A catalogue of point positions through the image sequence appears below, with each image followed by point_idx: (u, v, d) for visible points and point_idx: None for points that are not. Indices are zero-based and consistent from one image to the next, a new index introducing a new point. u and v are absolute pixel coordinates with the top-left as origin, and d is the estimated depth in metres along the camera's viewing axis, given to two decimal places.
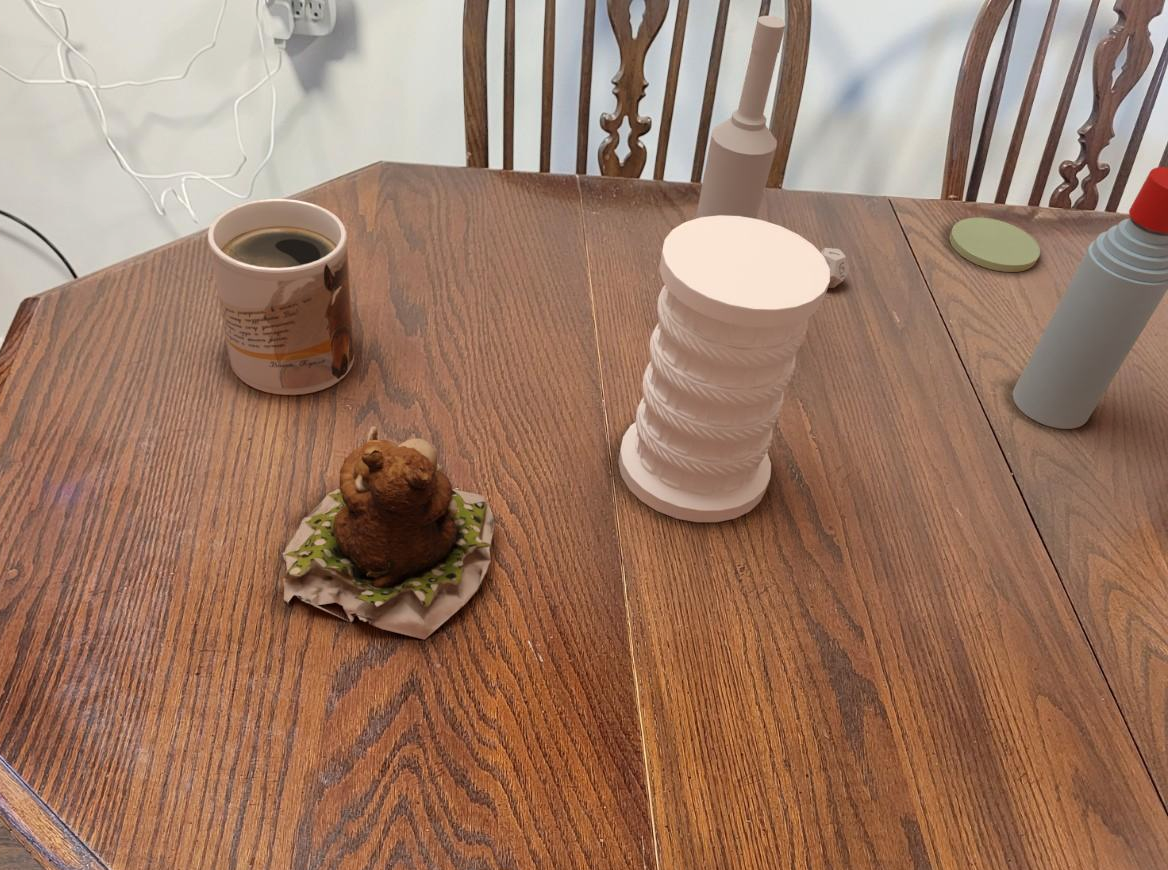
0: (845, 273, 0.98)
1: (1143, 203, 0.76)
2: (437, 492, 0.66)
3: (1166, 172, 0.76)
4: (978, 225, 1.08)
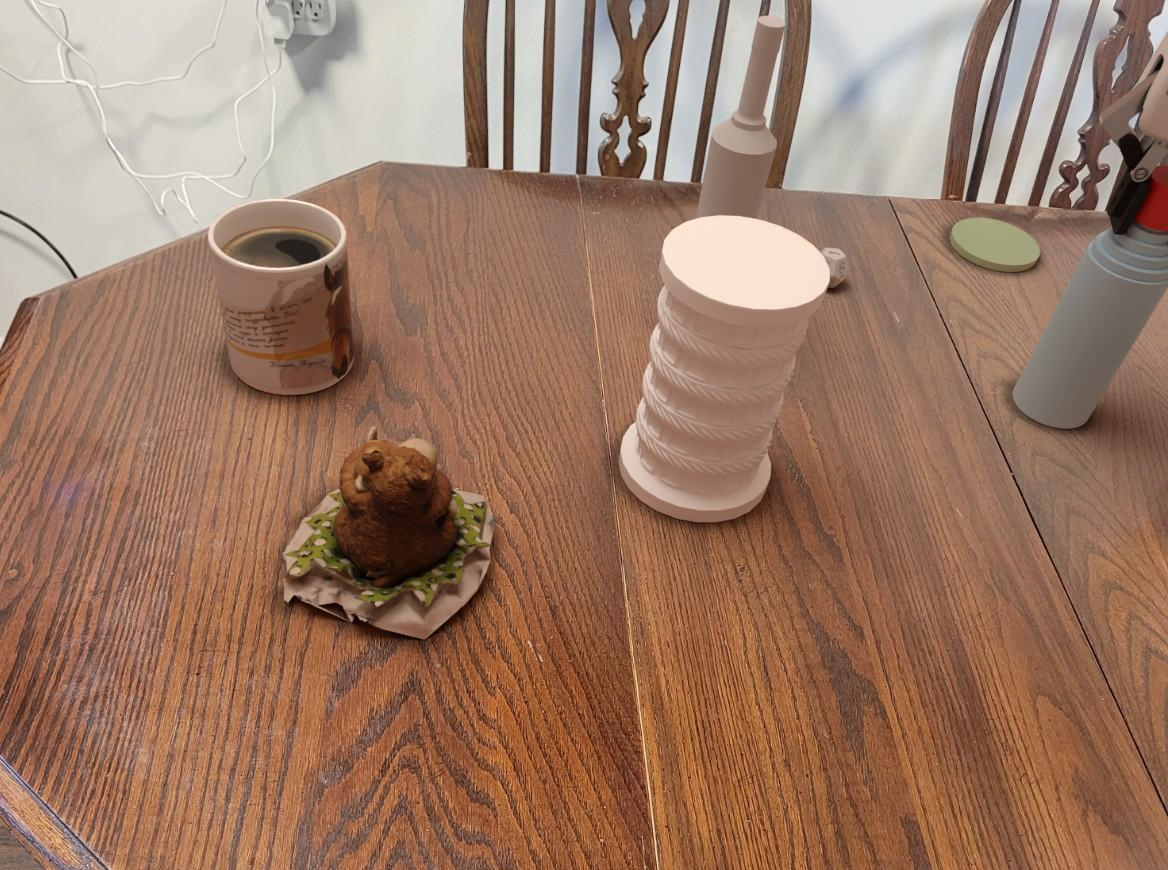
0: (845, 273, 0.98)
1: None
2: (437, 492, 0.66)
3: (1166, 180, 0.75)
4: (978, 225, 1.08)
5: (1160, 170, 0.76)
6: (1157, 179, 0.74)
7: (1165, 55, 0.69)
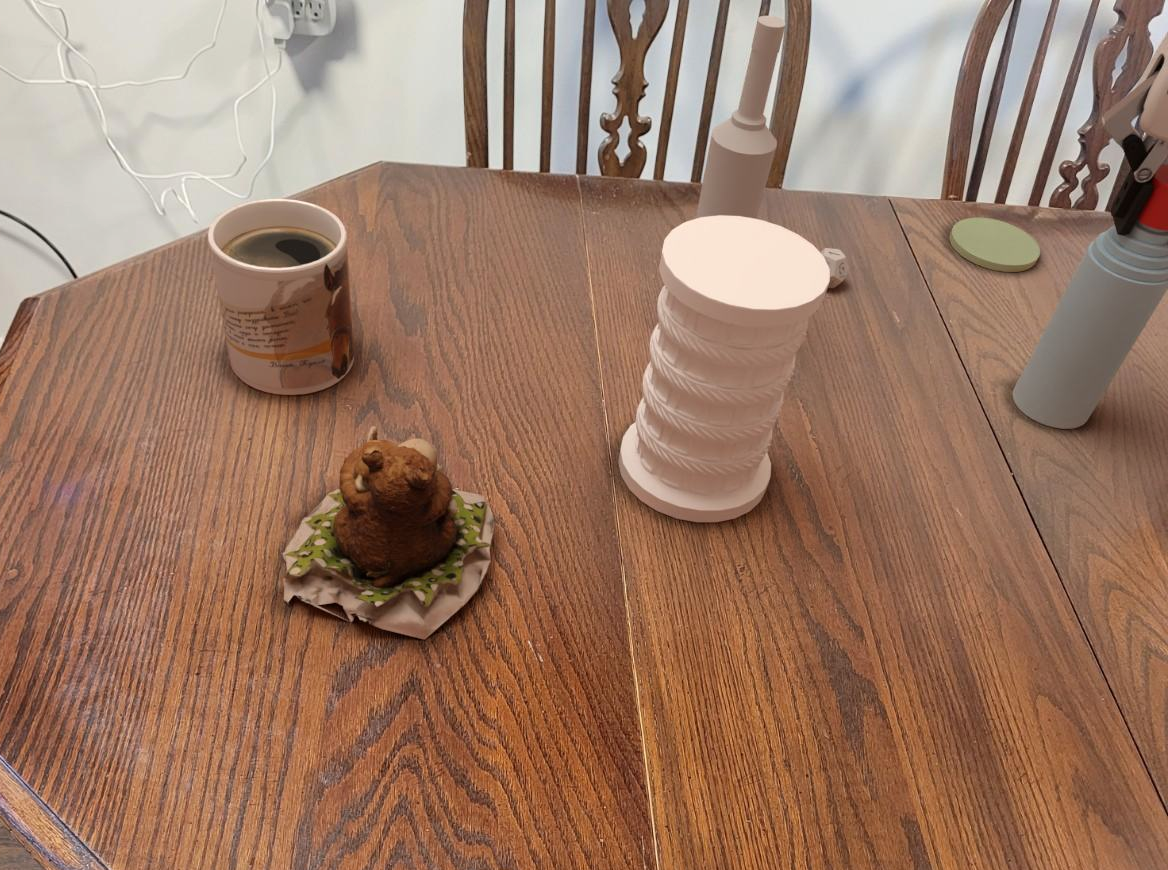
0: (845, 273, 0.98)
1: None
2: (437, 492, 0.66)
3: None
4: (978, 225, 1.08)
5: None
6: None
7: (1166, 54, 0.69)
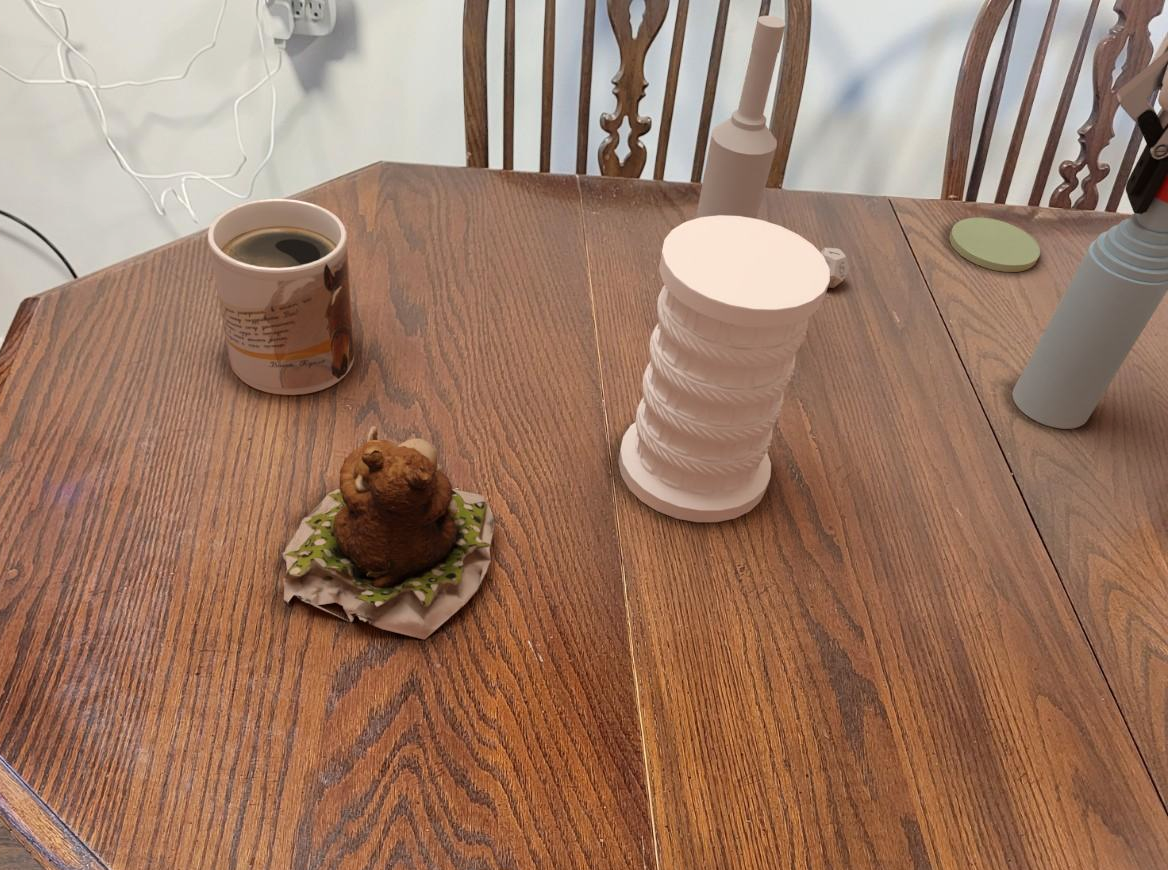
0: (845, 273, 0.98)
1: (1167, 180, 0.74)
2: (437, 492, 0.66)
3: None
4: (978, 225, 1.08)
5: None
6: None
7: None
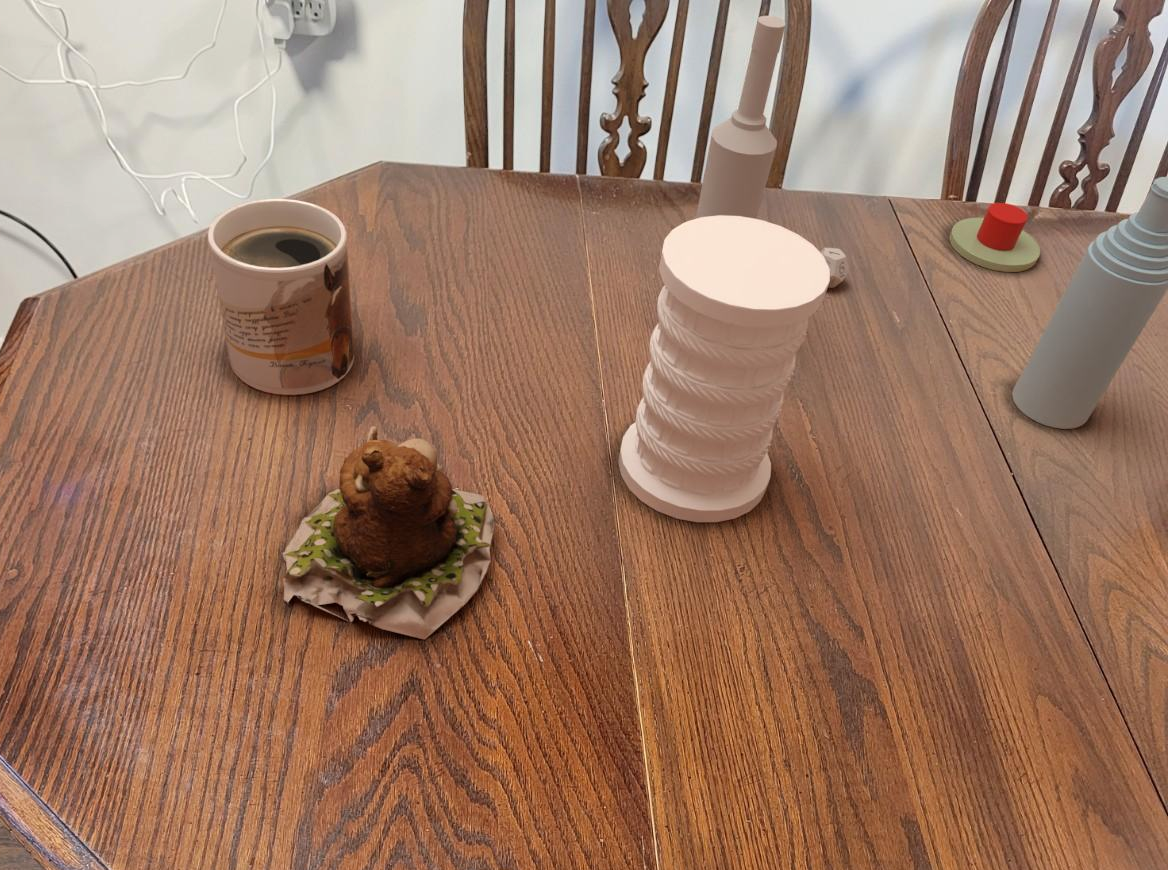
0: (845, 273, 0.98)
1: (1014, 238, 1.04)
2: (437, 492, 0.66)
3: (1000, 215, 1.04)
4: (978, 225, 1.08)
5: (996, 207, 1.05)
6: (994, 214, 1.04)
7: None
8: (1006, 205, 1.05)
